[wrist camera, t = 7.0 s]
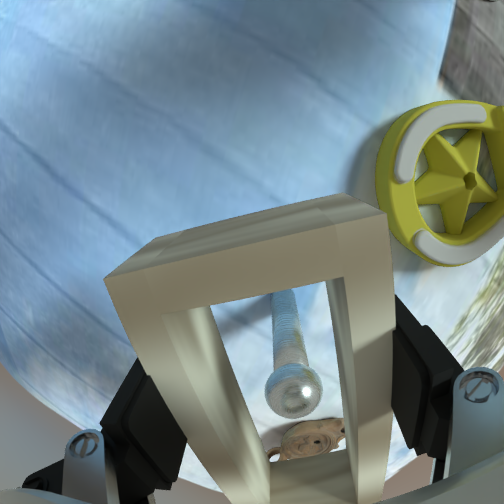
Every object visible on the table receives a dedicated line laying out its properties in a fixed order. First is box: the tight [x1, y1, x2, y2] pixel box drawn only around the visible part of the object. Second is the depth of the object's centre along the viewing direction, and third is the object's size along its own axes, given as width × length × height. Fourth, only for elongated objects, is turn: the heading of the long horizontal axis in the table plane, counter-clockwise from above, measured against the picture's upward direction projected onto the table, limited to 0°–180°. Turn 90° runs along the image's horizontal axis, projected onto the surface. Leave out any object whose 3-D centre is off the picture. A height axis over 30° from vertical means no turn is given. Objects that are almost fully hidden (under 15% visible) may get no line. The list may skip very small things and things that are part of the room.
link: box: [103, 193, 396, 504], centre depth 10 cm, size 15×7×4 cm, turn 14°
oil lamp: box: [266, 418, 345, 461], centre depth 34 cm, size 13×8×5 cm, turn 116°
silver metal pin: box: [265, 289, 323, 419], centre depth 23 cm, size 4×4×16 cm
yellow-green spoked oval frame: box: [375, 100, 504, 267], centre depth 24 cm, size 16×21×5 cm
